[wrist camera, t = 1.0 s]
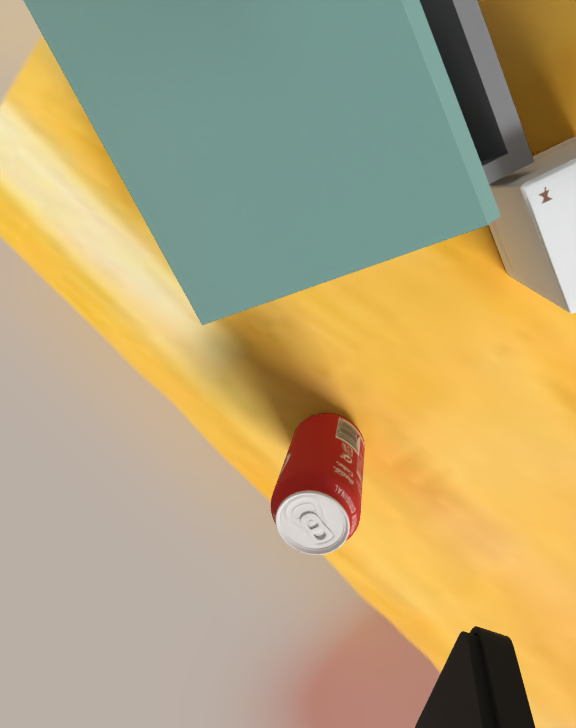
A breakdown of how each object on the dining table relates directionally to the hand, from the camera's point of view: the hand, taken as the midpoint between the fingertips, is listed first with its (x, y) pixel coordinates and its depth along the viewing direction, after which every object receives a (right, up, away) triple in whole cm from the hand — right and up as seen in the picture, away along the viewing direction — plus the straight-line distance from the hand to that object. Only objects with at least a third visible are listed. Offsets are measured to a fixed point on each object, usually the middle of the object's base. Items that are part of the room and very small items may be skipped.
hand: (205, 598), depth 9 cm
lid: (-2, +17, +11) cm, 20 cm away
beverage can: (+5, -2, +35) cm, 35 cm away
